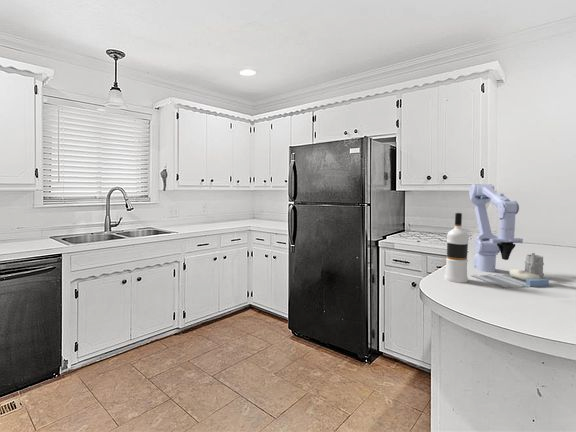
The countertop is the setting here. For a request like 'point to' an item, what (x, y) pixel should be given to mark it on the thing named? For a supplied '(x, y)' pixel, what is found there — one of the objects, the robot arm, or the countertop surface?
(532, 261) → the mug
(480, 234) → the robot arm
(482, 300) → the countertop surface
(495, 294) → the countertop surface
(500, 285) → the board
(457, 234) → the vodka
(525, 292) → the countertop surface
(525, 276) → the cream paper roll
